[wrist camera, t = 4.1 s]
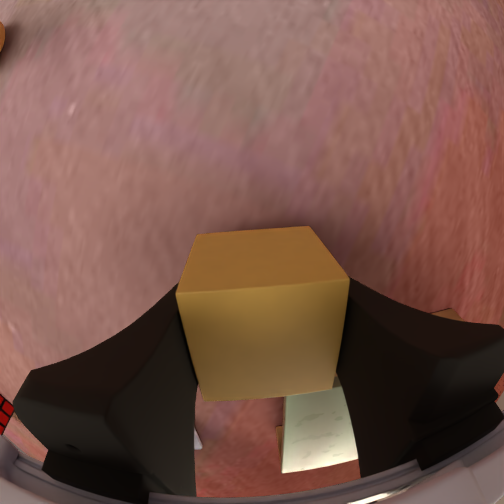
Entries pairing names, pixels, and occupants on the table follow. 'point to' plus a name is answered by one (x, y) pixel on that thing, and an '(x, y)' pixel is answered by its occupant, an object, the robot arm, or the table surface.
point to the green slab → (320, 426)
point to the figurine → (2, 36)
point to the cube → (262, 313)
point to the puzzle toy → (5, 413)
